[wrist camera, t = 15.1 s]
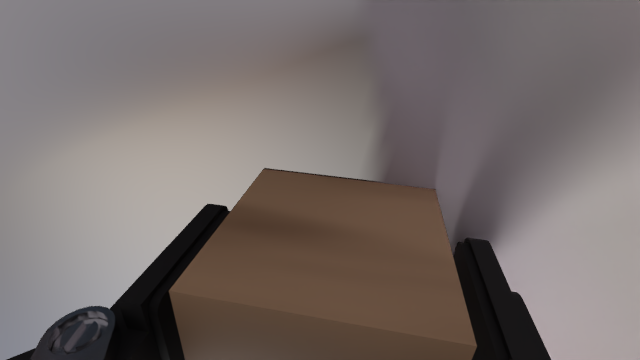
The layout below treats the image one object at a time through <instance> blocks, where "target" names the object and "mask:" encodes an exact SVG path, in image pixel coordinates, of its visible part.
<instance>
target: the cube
mask: <svg viewBox="0 0 640 360" xmlns="http://www.w3.org/2000/svg"><path fill="white" fill-rule="evenodd" d="M169 294H170V298H171V302H172V307H173V311H174V315H175V319H176V324H177V328H178V332H179V336H180V341H181V345H182V349H183V353H184V358H185V360H472V358H473V355H474V353H475V350H476V348H477V344H476V341H475V337H474V333H473V329H472V326H471V322H470V318H469V314H468V311H467V307H466V303H465V299H464V296H463V292H462V288H461V284H460V281H459V277H458V273H457V269H456V266H455V262H454V258H453V254H452V251H451V247H450V243H449V239H448V236H447V232H446V228H445V224H444V221H443V217H442V213H441V209H440V206H439V202H438V198H437V194H436V191H435V189H428V188H419V187H411V186H403V185H394V184H386V183H377V182H375V181H371V180H363V179H354V178H346V177H337V176H328V175H320V174H312V173H303V172H294V171H286V170H278V169H270V168H264V169H263V170H262V172H261V173H260V174H259V176H258V177H257V178H256V179H255V181H254V182H253V183H252V185H251V186H250V187H249V188H248V190H247V191H246V192H245V194H244V195H243V196H242V197H241V199H240V200H239V201H238V202H237V204H236V205H235V206H234V208H233V209H232V210H231V211H230V213H229V214H228V215H227V217H226V218H225V219H224V221H223V222H222V223H221V224H220V226H219V227H218V228H217V230H216V231H215V232H214V233H213V235H212V236H211V237H210V239H209V240H208V241H207V242H206V244H205V245H204V246H203V248H202V249H201V250H200V251H199V253H198V254H197V255H196V257H195V258H194V259H193V260H192V262H191V263H190V264H189V266H188V267H187V268H186V269H185V271H184V272H183V273H182V275H181V276H180V277H179V278H178V280H177V281H176V282H175V284H174V285H173V286H172V287H171V289H170V290H169Z"/></svg>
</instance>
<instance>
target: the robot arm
mask: <svg viewBox="0 0 640 360" xmlns="http://www.w3.org/2000/svg"><path fill="white" fill-rule="evenodd" d="M229 213H230V211H228V209H227V207H226V206H222V205H214V204H207V205H206V206H205V207H204V208H203V209H202V210H201V211H200V212H199V213H198V214H197V215H196V217H194V219H193V220H192V221H191V222H190V223H189V224H188V225H187V226H186V227H185V228H184V229H183V231H182V232H181V233H180V234H179V235H178V236H177V237H176V238H175V239H174V240H173V241H172V242H171V244H169V245H168V247H166V249H165V250H164V251H163V252H162V253H161V254H160V255H159V256H158V257H157V258H156V259H155V260H154V262H153V263H152V264H151V265H150V266H149V267H148V268H147V269H146V270H145V271H144V272H143V274H142V275H141V276H140V277H139V278H138V279H137V280H136V281H135V282H134V283H133V284H132V286H130V287H129V289H128V290H127V291H126V292H125V293H124V294H123V295H122V296H121V297H120V299H118V300H117V302H116V303H115V304H114V305H113V306H112V307H111V308H110V309H108V308H106V307H102V306H89V307H86V308H82V309H78V310H76V311H74V312H71V313H69V314H67V315H65V316H64V317H62V318H61V319H59V320H58V321H56V322H55V323H54V324H53V325H52V326H51V327H50V328H48V329H47V331H46V332H45V333H44V335H43V336H42V338H41V339H40V341H39V343H38V345H37V347H36V348H35V349H32V350H30V351H27V352H25V353H22V354H20V355H17V356H15V357H12V358H10V359H7V360H185V358H184V353H183V349H182V345H181V341H180V336H179V332H178V328H177V324H176V319H175V315H174V311H173V307H172V302H171V298H170V294H169V290H170V289H171V287H172V286H173V285H174V284H175V282H176V281H177V280H178V278H179V277H180V276H181V275H182V273H183V272H184V271H185V269H186V268H187V267H188V266H189V264H190V263H191V262H192V260H193V259H194V258H195V257H196V255H197V254H198V253H199V251H200V250H201V249H202V248H203V246H204V245H205V244H206V242H207V241H208V240H209V239H210V237H211V236H212V235H213V233H214V232H215V231H216V230H217V228H218V227H219V226H220V224H221V223H222V222H223V221H224V219H225V218H226V217H227V215H228V214H229ZM453 258H454V262H455V266H456V269H457V273H458V277H459V281H460V284H461V288H462V292H463V296H464V299H465V303H466V307H467V311H468V314H469V318H470V322H471V326H472V329H473V333H474V337H475V341H476V344H477V348H476V350H475V353H474V355H473V358H472V360H551V358H550V356H549V354H548V352H547V350H546V348H545V346H544V343H543V341H542V339H541V337H540V335H539V333H538V331H537V329H536V326H535V324H534V322H533V320H532V318H531V316H530V314H529V312H528V309H527V307H526V305H525V303H524V301H523V299H522V297H521V296H520V295H519V294H518V293H517V292H511V290H510V287H509V285H508V283H507V281H506V278H505V276H504V274H503V272H502V269H501V267H500V265H499V263H498V260H497V258H496V256H495V253H494V251H493V249H492V247H491V244H490V243H489V241H487V240H479V239H472V238H466V239H465V241H464V243H463V242H458V243H457V246H456V249H455V253H454V256H453Z"/></svg>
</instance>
